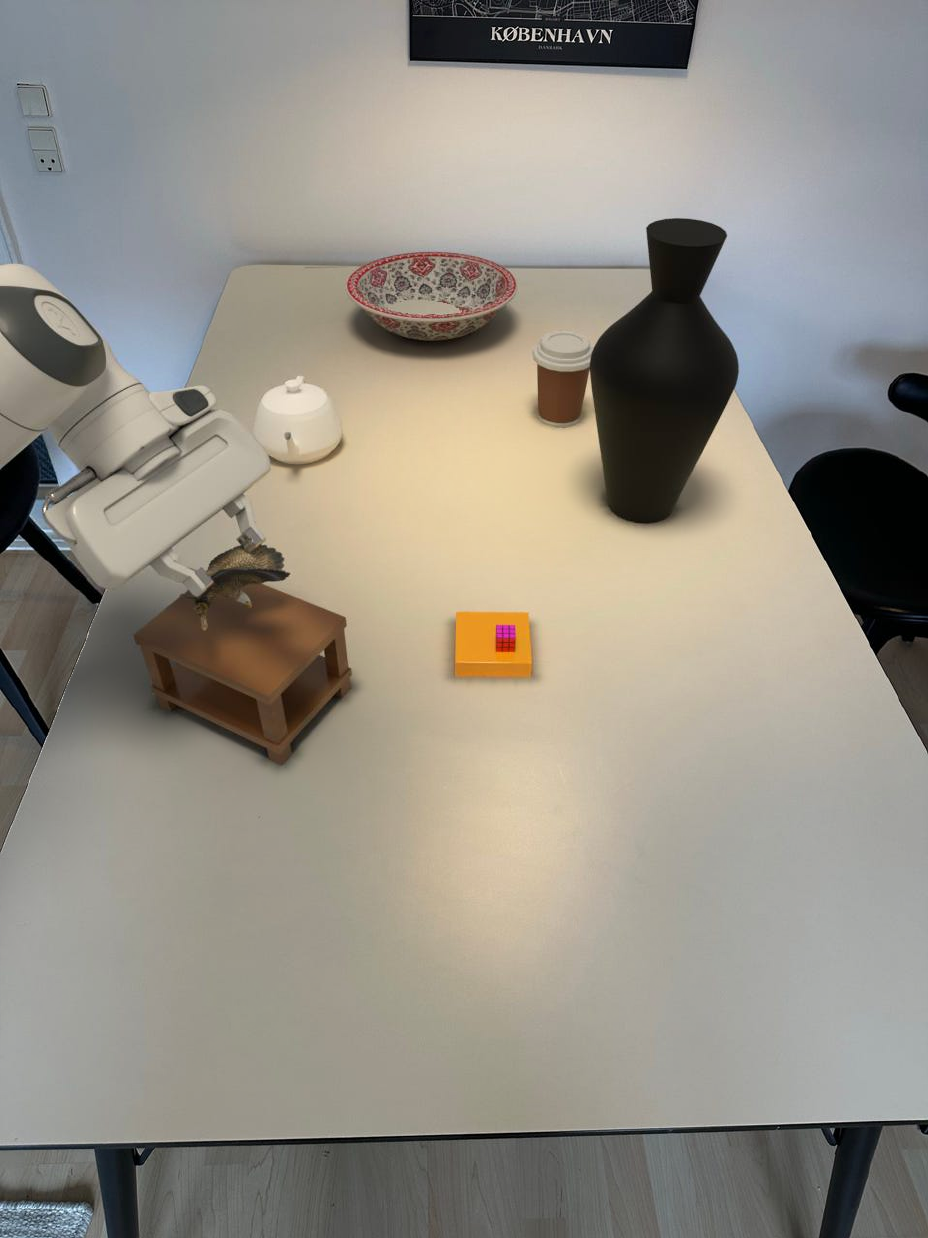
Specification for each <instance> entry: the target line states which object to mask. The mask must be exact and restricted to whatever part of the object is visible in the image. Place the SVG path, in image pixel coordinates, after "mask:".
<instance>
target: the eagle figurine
mask: <svg viewBox="0 0 928 1238" xmlns="http://www.w3.org/2000/svg"><path fill="white" fill-rule="evenodd" d="M284 562H285V557H284V556H283V553H282V552H280V551H277V548H276V547H268V545H267V544H261V545H260V546H258V547H257V548H256V549H255V550H253V551H252V552H251V553H249V552H247V551H246V550H245V549H244V546H243V545H241V544H240V545H236V546H234V547H232V548H229V549H228V550H225V551H224V552H221V553H220V554H217V555H216V556H215V557H214V558H213V559H212V560H210V562H209V563H208V566H207V569H206V570H205V571H206V572H207V576H210V577H211V578H212V579H213V582H214V584H213V585H212V586H210V587H209V588H208V589H207V590H206V591H205V592H203V593H202V595H201V597H200V598H199V599H198V598H197V597H196V596H194V595H193V594H192V593H185V592H184V593H181V594H179V597H187V598H188V599H190V600H191V601H192V602H193V603H194V604H196V605H197V606H195V607H194V608H193V610H194V612H195V613H197V614H198V616H199V619H200V622H201V624H202V626H201V627H202V630H203V631H206V629H207V628H208V624H207V618H206V616H207V611H208V609H209V607H210V604H211V601H212V599H213V598H215V597H216V596H218V595H222V596H224V597H225V598H228V599H230V600H234V601H237V602H241V603H243V604H246V605H247V606H248V607H249V608H251V607H252V604H251V601H250V599H249V597H248V596H247V595H246V594H245V593H243V592H242V591H241V590H240V589H241V588H242V587H244V586H246V585H251V584H265V583H267V582H272V583H273V582H274V583H275V582H283V581H285V580H286V579H287V578H289V577H290V575H291V572H289V571H286V570H283V568H285V564H284ZM187 568H189V569H191V570H193V571H195V572H196V571H197V570H196V569H194V568H193V567H189V566H187ZM195 572H194V573H195Z"/></svg>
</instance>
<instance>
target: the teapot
mask: <svg viewBox="0 0 928 1238" xmlns="http://www.w3.org/2000/svg"><path fill="white" fill-rule="evenodd" d="M252 430H253V432H252V433H253V437H254V438H255V439H256V440H257V441H258V443H259V444H260V445H261V446H262V447H263V449H264V450H265V451H266V453H267V454H268V456H269V457H271V458H273V459H274V460H276V461H278V462H280V463H283V464H288V465H308V464H311V463H315V462H318V461H320V460H323V459H324V458H326V457H327V456H328V455H330V454H331V452H332V451H334V449H336V447H337V446H339V444H340V442H341V440H342V436H343V432H344V427H343V423H342V419H341V417H340V414H339V412H338V410H337V408H336V405H335V404H334V402H333V400H332V398H331V397H330V396H329V394H328V393H327V392H326V390H324V389H323V388H322V387H320V386H318V385H315V384H312V383H306V378H305V376H304V375H297V376H296V378H295V379H289V380H286V381H285V382H284V384H281V385H277V386H275V387H272V388H271V389H269V390H267V391H266V392H265V393H264V394H263V396H262V398H261V400H260V402H259V403H258V405H257V410H256V413H255V418H254V423H253V429H252Z"/></svg>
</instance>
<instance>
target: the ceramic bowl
mask: <svg viewBox="0 0 928 1238" xmlns="http://www.w3.org/2000/svg"><path fill="white" fill-rule="evenodd" d="M345 291H346V295H347V297H348V298H349V299H350V300H351V302H352V303H354V304H355V305H357V306H358V307H359V308H360V309H363V310H364V312H365V313H366V314H367V315H368V316H369V318H370V319H372V320H373V321H374V322H375V323H376V324H377V325H379V326H380V327H382V328H383V329H384V330H387V331H388V332H391V334H395V335H397V336H399V337H403V338H406V339H411V338H412V339H411V340H417V339H418V340H419V341H446V340H453V339H456V338H461V337H465V336H466V335H470V334H471V333H473V332H475V331H477V330H479V329H481V328H482V327H484V326H485V325H487V324H488V323H489V322H490V321H491V320H492V319H493V318H495V316H496V315H497V314H498V312H499V311H500V310H501V308H504V307H505V306H506V305H508V304H509V303H510V302H511V301H512V300H513V299H514V298H515V296H516V295H517V291H518V281H517V279H516V276H514V274H513V273H512V272H511V271H510V270H508V268H506V267H504V266H503V265H500V264H499V263H496V262H494V261H493V260H489V259H486V258H483V257H480V256H475V255H472V254H471V255H470V254H465V253H459V252H450V251H449V252H447V251H418V252H408V253H407V252H406V253H400V254H395V255H390V256H385V257H382V258H379V259H375V260H372V261H370V262H368V263H366V264H363V265H361V266H360V267H358V268H357V269H355V270H354V271H353V272H352V273H351V274H350V275H349V276H348V278H347V280H346V281H345ZM412 299H413V300H414V299H415V300H425V301H426V300H428V301H437V302H443V303H447V304H451V305H454V306H455V307H456V308H459V310H460V311H462V312H461V313H454V314H444V315H437V314H428V315H418V314H408V313H401V312H396V311H391V310H388V309H387V308H388V307H389V306H391V305H393V304H395V303H398V302H401V301H404V300H405V301H406V300H412Z"/></svg>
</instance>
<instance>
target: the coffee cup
mask: <svg viewBox="0 0 928 1238" xmlns="http://www.w3.org/2000/svg"><path fill="white" fill-rule="evenodd" d="M593 348H594V347H593V346H592V345H591V340H590V339H589V338H588V337H587V336H585V335H584V334H582V333H579V332H577V331H572V330H555V331H550V332H549V333H546V334H544V335H543V336H542V338H541V339H540V342H538V343H537V344H536V345H535V346H534V347H533V349H532V359H533V361H534V362H535V363H536V373H537V374H536V375H537V376H536V377H537V418H538V420H539V421H540V423H543V424H545V425H548V426H551V427H554V428H568V427H572V426H574V425H576V424H578V423H579V422H580V420H581V416H582V411H583V405H584V400H585V395H586V390H587V385H588V380H589V375H590V367H589V366H590V359H591V354H592V351H593Z"/></svg>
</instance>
